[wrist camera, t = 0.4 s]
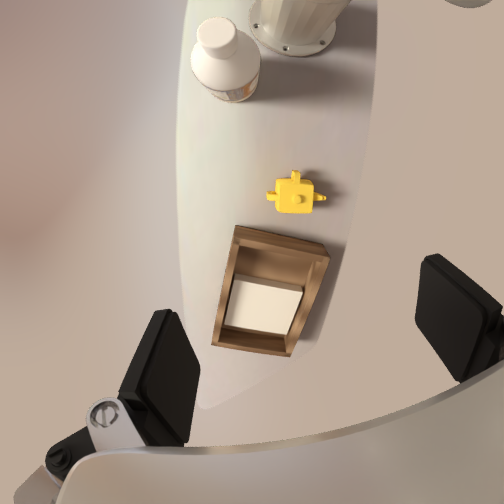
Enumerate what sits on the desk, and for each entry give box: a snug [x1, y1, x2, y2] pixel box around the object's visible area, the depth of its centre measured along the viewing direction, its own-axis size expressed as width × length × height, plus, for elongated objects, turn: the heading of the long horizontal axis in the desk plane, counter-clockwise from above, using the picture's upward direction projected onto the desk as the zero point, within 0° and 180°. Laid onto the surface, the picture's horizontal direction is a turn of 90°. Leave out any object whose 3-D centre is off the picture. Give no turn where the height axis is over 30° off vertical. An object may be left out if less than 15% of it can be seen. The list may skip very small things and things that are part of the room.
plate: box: [224, 273, 303, 335], centre depth 45 cm, size 9×11×2 cm
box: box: [211, 225, 330, 357], centre depth 44 cm, size 20×14×5 cm
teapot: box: [267, 170, 326, 213], centre depth 37 cm, size 8×6×5 cm
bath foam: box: [191, 17, 261, 103], centre depth 24 cm, size 7×7×20 cm
